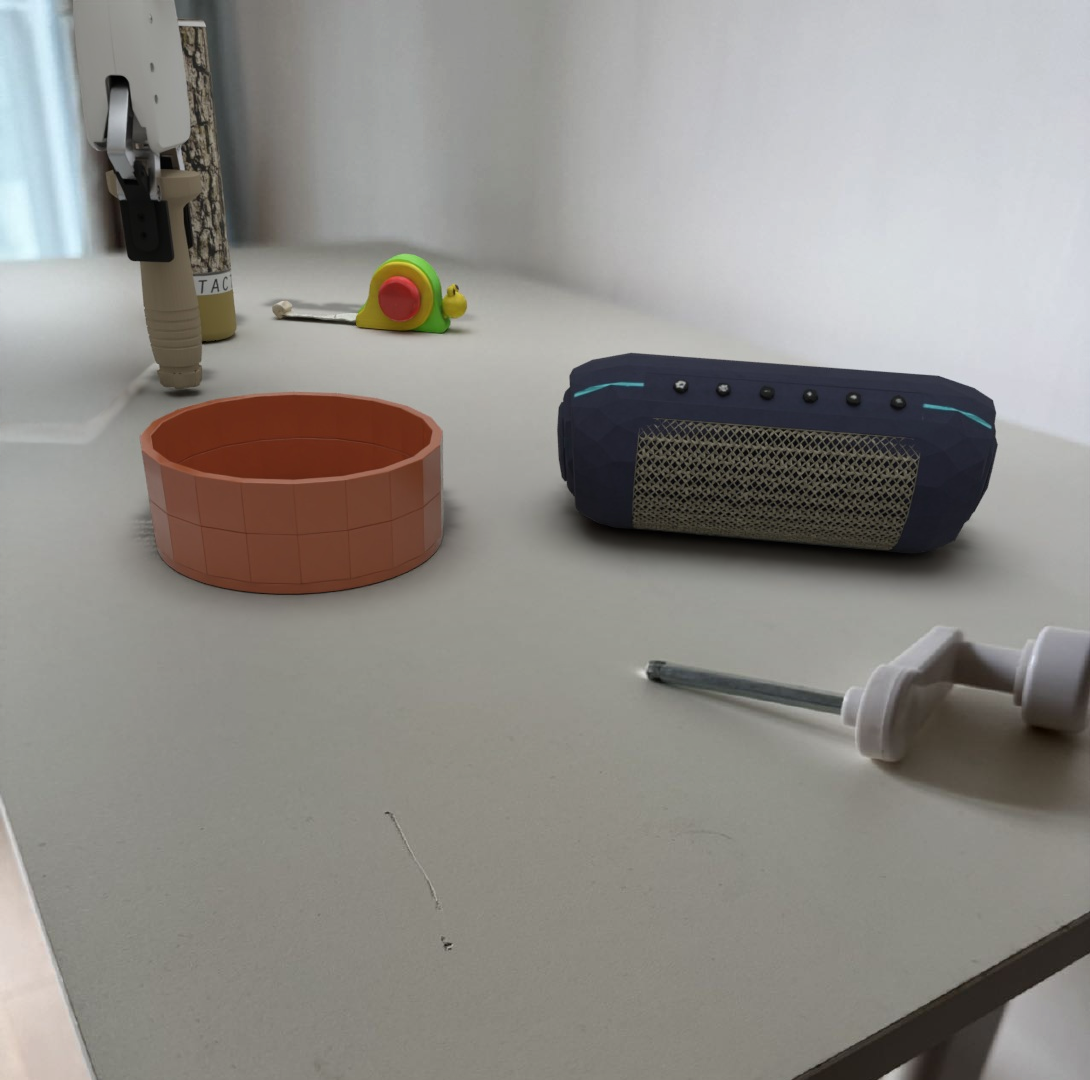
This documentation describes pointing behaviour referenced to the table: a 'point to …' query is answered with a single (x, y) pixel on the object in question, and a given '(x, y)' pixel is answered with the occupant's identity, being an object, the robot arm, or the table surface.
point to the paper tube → (206, 191)
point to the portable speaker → (775, 451)
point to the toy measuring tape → (400, 299)
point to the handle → (173, 290)
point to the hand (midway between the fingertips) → (162, 251)
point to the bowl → (295, 490)
